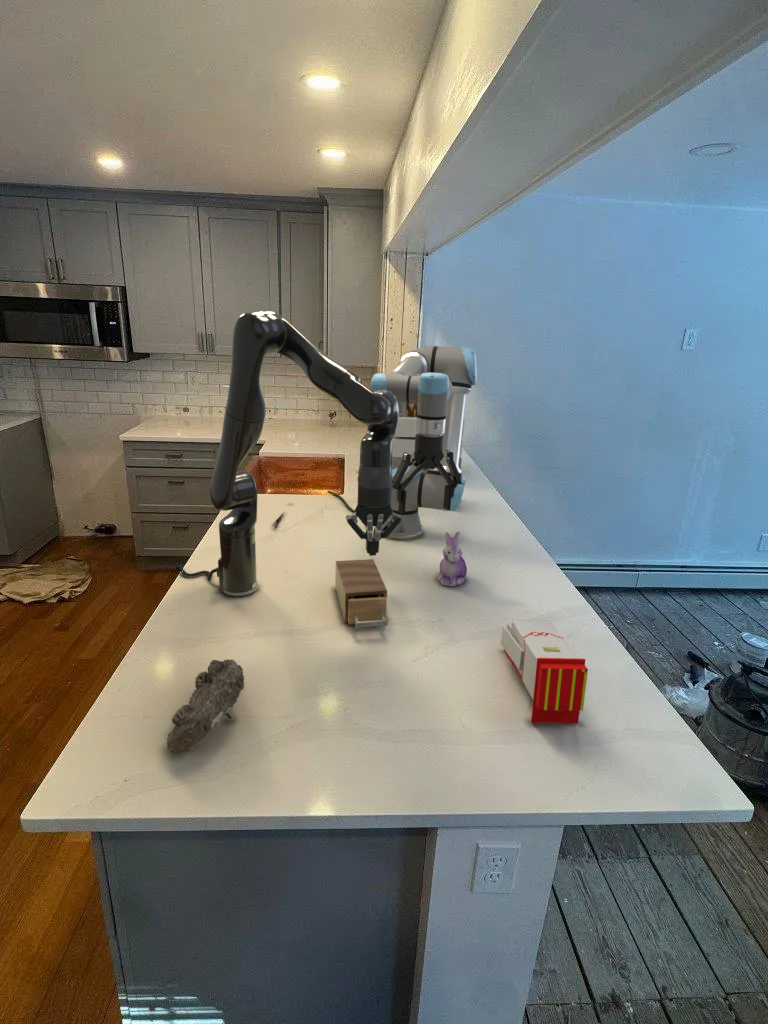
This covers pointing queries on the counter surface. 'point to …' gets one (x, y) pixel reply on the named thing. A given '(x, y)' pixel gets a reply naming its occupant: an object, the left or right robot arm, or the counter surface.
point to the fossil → (206, 705)
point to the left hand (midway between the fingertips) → (372, 554)
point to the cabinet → (357, 581)
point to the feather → (278, 520)
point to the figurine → (452, 562)
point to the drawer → (367, 610)
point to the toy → (547, 670)
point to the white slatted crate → (408, 434)
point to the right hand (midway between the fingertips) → (424, 511)
